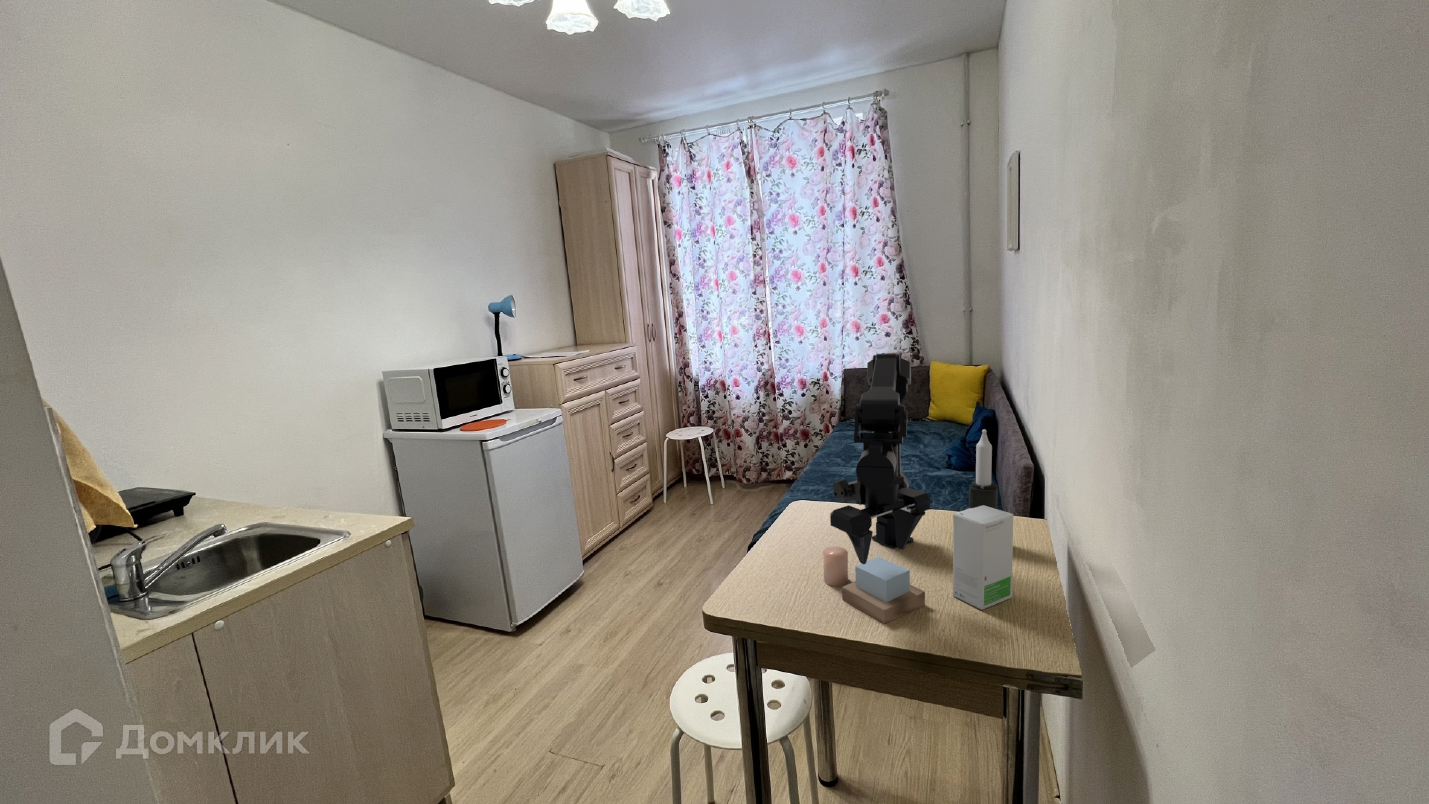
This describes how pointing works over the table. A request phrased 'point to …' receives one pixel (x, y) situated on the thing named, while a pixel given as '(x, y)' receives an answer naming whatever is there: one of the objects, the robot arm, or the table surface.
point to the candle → (983, 477)
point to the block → (882, 579)
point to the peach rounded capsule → (835, 566)
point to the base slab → (880, 608)
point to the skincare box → (982, 556)
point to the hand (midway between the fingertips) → (882, 556)
